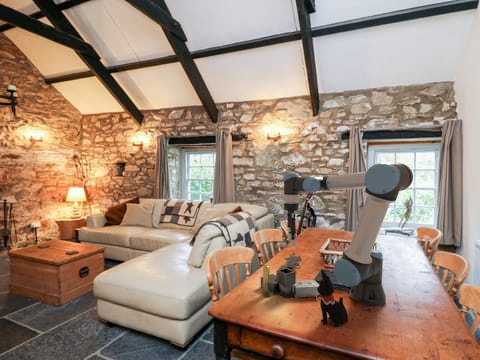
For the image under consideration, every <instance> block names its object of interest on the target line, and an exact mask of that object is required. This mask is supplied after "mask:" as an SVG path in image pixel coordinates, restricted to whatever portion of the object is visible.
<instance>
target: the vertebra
mask: <svg viewBox="0 0 480 360" xmlns="http://www.w3.org/2000/svg"><path fill="white" fill-rule="evenodd" d="M283 260H285V262H286V263H284V264H282V265H280V268H281V269H283V268H292V269H294V271H296V268H297V267H299V268H300V269H301V268H302V265H301V262H302V257H301V256H299V255H298V256H297V255H296V253H295V252H292V253H289V255H287V257H284V258H283Z"/></svg>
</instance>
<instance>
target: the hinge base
mask: <svg viewBox="0 0 480 360" xmlns="http://www.w3.org/2000/svg"><path fill="white" fill-rule="evenodd" d="M296 275H297V272H296V270H293V269H290V268H289V267H287V268H283V269H282V268H281V269H277V270H276V273H275V274H273V273H271V274H270V278H269V293H271V294H273V295H276V294H278V296H279V297H281V298H283V299H284V298H285V299H291V298H292V297H293V296H294V294H293V284H296V281H297V279H296V278H297V276H296ZM260 288H262V289H263V276H261V277H260Z"/></svg>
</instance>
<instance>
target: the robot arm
mask: <svg viewBox="0 0 480 360" xmlns="http://www.w3.org/2000/svg"><path fill="white" fill-rule="evenodd" d="M413 180H414V174H413V171H412V169H411V168H410V167H409V166H408V165H406V164H404V163H402V162H401V163H400V162H388V161H385V162H383V161H382V162H378V163H375V164H373V165H371V166H370V167H369V168H368V169H367V170H366V171H360V172H353V173H351V172H350V173H343V174H335V175H334V174H333V175H326V176H325V175H322V176H301V177H300V176H299V173H293V172H290V173H289V172H288V173H284V176H283V196H282V198H283V202H284V203H283V209H284V211H287V213H286V215H287V217H286V218H287V224H286V225H287V240H288V241H289V247H297V246H296V233H297V228H296V227H297V226H296V213H295V211H298V210H299V209H300V208H299V202H300V201H299V198H300V197H299V196H300V195H299V193H300V192H301V193H309V194H311V193H312V194H313V193H317V192H329V191H341V190H359V189H365V190H364V194H365V195H366V199H365V202H364V205H363V207H362V208H361V209H362V210H361V213H360V215H359V217H358V220H357V221H358V222H357V224H356V226H355V230H354V233H353V235H352V237H351V241H350V243H349V246H347V247H345V248H344V250H343V252H342V253H341V254H342V255H341V257H340V258H339V259H337V260H336V261H335V262H334V263H333V269H332V270H333V273H334V275H335V278H336V279H337V281H338V282H340V283H341V284H342V285H344V286H346V287H351V288H350V291H349V296H350V297H349V298H351V299H352V301H355V302H357V303H358V304H362V305H365V306H372V307H373V306H374V307H379V306H383V305H385V304H386V301H387V297H386V292H385V289H384V286H383V265H384V264H383V262H384V258H383V253H382V252H381V251H380V250H377V249H374V246H375V243H376V241H377V238H378V236H379V233H380V230H381V228H382V225H383V222H384V220H385V217H386V215H387V212H388V209H389V208H390V207H389V206H390V205H391V204H393V203H395V202H396V201H397V199H398V197H399V194H400V192H402V191H405V190H406V189H408V188H409V187H410V186H411V185H412V183H413Z"/></svg>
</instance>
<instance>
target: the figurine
mask: <svg viewBox="0 0 480 360" xmlns="http://www.w3.org/2000/svg"><path fill="white" fill-rule="evenodd" d="M320 273H321V278H322V279H321V280H319V283H318V284H319V286H318V288H317V291H318V293H319V295H317V296H315V297H316V299H315V300H316V301H317V302H318V301H320V303H319V305H320V311H321V315H322V319H321V320H320V322H321V323H322V325H324V326H326V325H328V320H330V321H331V322H332V323H333V324H332V327H333V328H338V327H340V325H341V326H343V325H345V324H346V323H347V322H348V320H349V315H348V311H347V309H346V307H345V305H344V298H343V296H340V297H339V301H337V300H336V299H335V297H334V295H333V294H334V293H335V285H334V282H332V280H331V277H330V276H329V275H327V273H326V272H325V270H324V269H323V268H321V271H320Z"/></svg>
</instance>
